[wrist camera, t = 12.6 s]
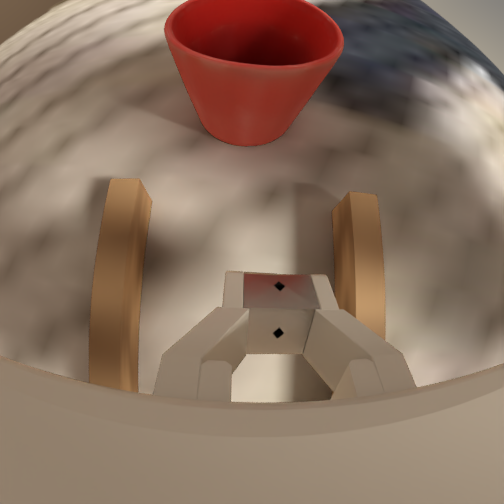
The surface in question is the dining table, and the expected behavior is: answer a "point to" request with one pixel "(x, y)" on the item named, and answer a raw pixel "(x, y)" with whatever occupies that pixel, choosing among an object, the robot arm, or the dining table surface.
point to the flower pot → (251, 62)
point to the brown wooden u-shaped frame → (132, 262)
